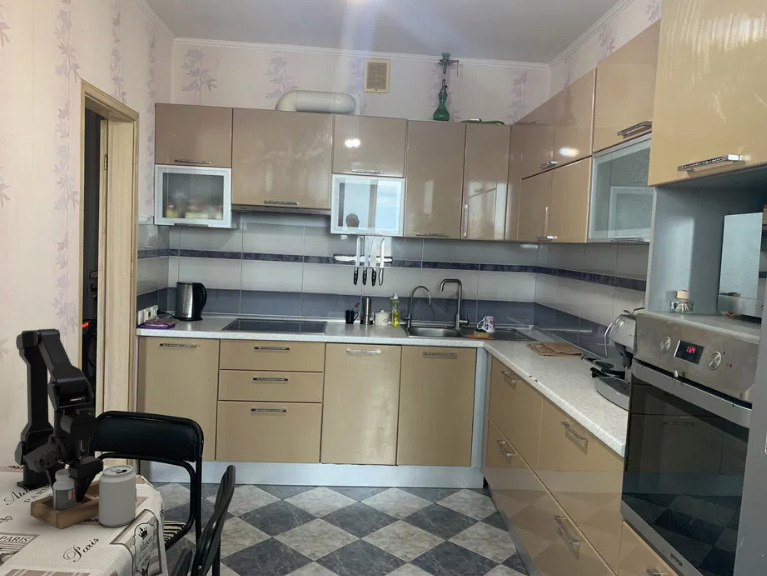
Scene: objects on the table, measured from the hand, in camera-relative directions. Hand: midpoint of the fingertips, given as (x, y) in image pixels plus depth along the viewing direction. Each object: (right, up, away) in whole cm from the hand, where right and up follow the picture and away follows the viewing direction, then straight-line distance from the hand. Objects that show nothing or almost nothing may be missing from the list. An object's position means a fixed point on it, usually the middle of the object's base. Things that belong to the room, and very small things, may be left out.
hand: (67, 497), depth 132 cm
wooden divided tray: (+2, -4, +4) cm, 6 cm away
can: (+12, -5, -2) cm, 13 cm away
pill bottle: (0, -4, 0) cm, 4 cm away
